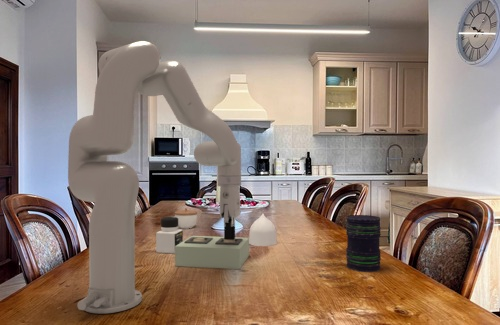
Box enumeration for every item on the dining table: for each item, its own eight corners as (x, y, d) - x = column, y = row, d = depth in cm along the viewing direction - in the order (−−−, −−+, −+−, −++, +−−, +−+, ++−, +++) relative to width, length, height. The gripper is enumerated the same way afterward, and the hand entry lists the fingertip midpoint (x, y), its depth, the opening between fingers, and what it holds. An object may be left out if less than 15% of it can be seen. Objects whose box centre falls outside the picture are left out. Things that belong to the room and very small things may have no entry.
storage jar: (357, 273, 103) (357, 220, 103) (339, 264, 112) (339, 215, 112) (388, 270, 106) (387, 219, 106) (368, 261, 115) (368, 214, 115)
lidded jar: (201, 227, 178) (201, 207, 178) (186, 230, 168) (186, 210, 168) (185, 225, 183) (185, 206, 183) (169, 228, 174) (169, 208, 174)
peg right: (233, 261, 114) (233, 240, 114) (222, 260, 114) (222, 240, 114) (236, 258, 117) (235, 238, 117) (225, 257, 118) (225, 237, 118)
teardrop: (266, 239, 150) (266, 209, 150) (282, 244, 141) (282, 212, 141) (243, 242, 144) (243, 211, 144) (259, 247, 135) (259, 215, 135)
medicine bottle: (175, 253, 126) (175, 218, 126) (155, 252, 127) (155, 218, 127) (183, 248, 133) (182, 215, 133) (164, 248, 134) (164, 215, 134)
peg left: (202, 261, 116) (202, 240, 116) (191, 260, 116) (191, 240, 116) (206, 258, 119) (205, 238, 119) (195, 257, 120) (195, 237, 120)
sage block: (239, 269, 107) (239, 247, 107) (175, 266, 111) (175, 244, 111) (249, 255, 123) (249, 236, 123) (192, 253, 126) (192, 234, 126)
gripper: (236, 182, 108) (236, 244, 108) (245, 180, 123) (245, 234, 123) (211, 182, 109) (211, 244, 109) (223, 180, 124) (223, 234, 124)
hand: (229, 238), depth 116 cm, fingers closed
